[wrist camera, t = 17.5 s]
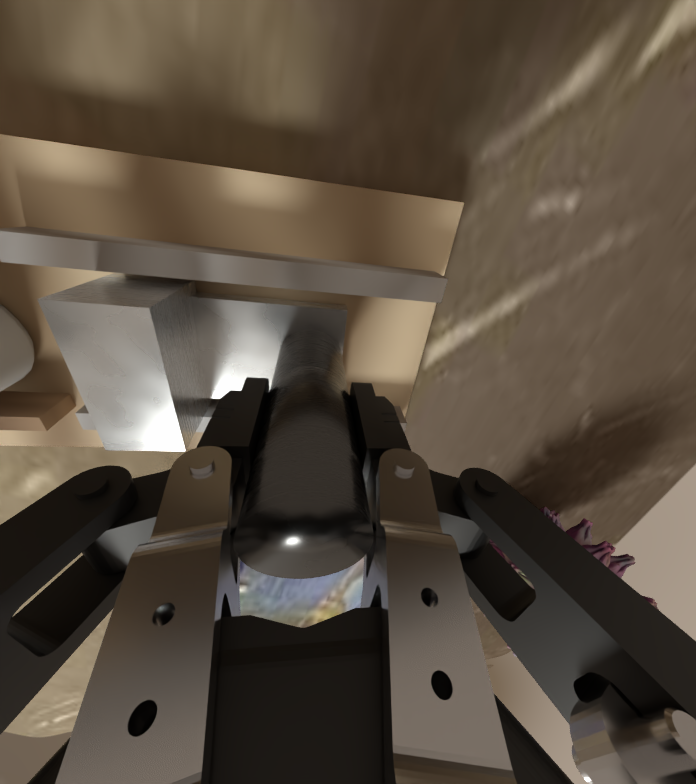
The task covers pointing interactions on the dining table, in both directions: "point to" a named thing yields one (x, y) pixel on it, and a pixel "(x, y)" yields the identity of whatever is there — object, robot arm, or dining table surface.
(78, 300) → the press block
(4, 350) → the beverage can
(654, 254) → the dining table surface
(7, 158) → the wooden tray
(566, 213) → the dining table surface
